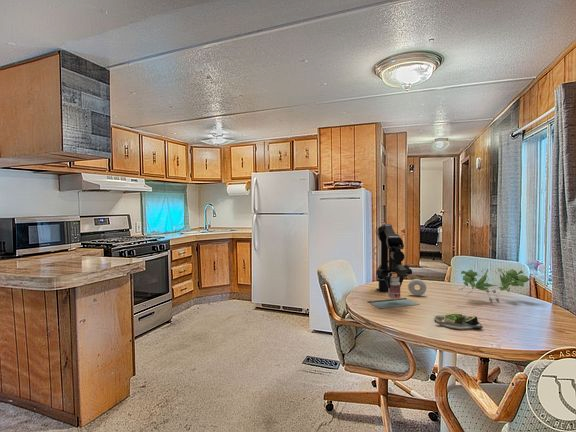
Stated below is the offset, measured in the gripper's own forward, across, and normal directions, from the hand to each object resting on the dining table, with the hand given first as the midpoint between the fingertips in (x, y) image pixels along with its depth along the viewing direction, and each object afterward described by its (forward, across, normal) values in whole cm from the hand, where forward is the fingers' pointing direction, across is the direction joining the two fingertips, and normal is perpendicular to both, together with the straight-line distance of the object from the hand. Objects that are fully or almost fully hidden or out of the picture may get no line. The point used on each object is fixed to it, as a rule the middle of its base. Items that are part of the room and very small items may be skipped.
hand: (394, 287), depth 176 cm
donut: (+9, +22, +10) cm, 26 cm away
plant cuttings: (+9, +54, -9) cm, 55 cm away
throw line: (+9, 0, +7) cm, 11 cm away
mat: (+9, 0, 0) cm, 9 cm away
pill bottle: (+6, 0, 0) cm, 6 cm away
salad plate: (+9, +10, -35) cm, 37 cm away
